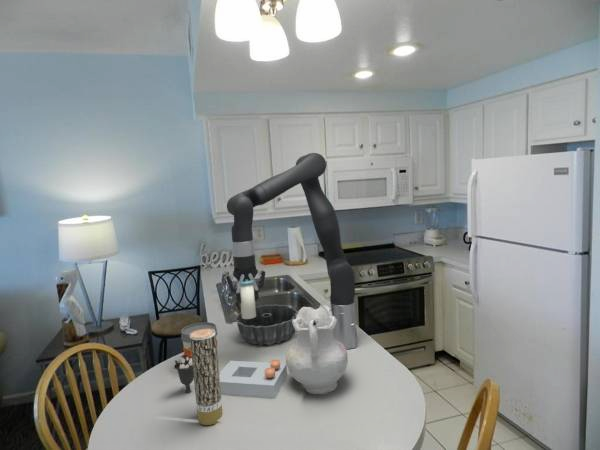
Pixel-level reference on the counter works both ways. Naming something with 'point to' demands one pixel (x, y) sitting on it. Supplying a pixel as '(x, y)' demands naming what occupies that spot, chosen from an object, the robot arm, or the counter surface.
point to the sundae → (185, 370)
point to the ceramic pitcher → (316, 351)
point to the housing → (251, 379)
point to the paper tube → (206, 376)
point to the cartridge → (247, 299)
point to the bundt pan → (268, 324)
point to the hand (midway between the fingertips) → (247, 301)
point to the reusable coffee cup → (191, 328)
